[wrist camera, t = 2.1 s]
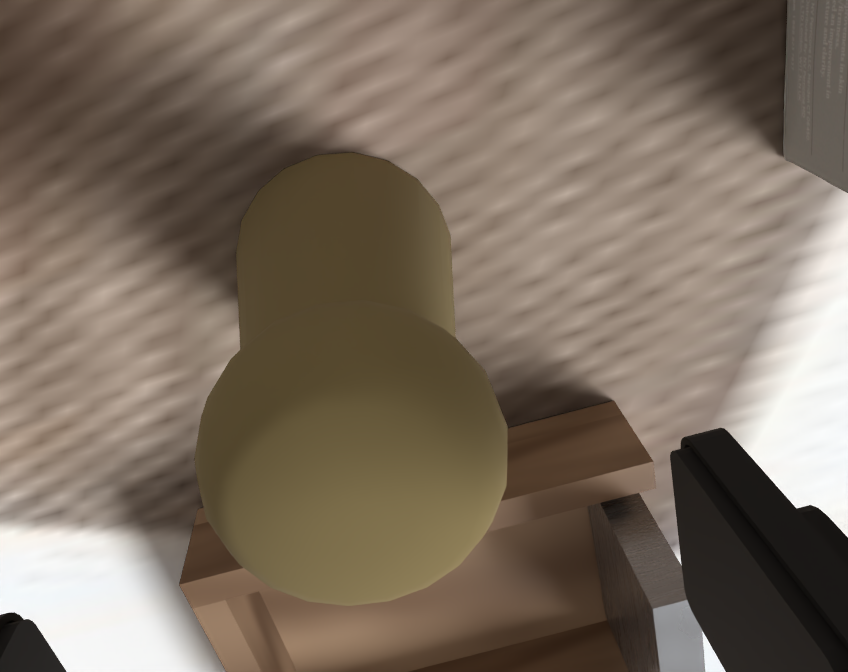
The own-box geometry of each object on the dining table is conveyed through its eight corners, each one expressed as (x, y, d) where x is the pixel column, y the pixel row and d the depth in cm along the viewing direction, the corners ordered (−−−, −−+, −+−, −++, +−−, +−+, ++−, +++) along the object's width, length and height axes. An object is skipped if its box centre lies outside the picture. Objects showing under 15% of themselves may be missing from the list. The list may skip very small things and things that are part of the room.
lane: (198, 508, 24) (179, 584, 21) (613, 400, 24) (653, 461, 21) (292, 701, 29) (288, 785, 26) (641, 611, 28) (677, 685, 26)
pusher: (580, 464, 24) (652, 609, 18) (616, 454, 24) (699, 596, 18) (605, 616, 27) (673, 776, 22) (637, 608, 27) (712, 765, 22)
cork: (208, 315, 21) (100, 619, 11) (279, 115, 19) (221, 277, 9) (401, 379, 23) (454, 693, 13) (488, 203, 20) (631, 420, 11)
